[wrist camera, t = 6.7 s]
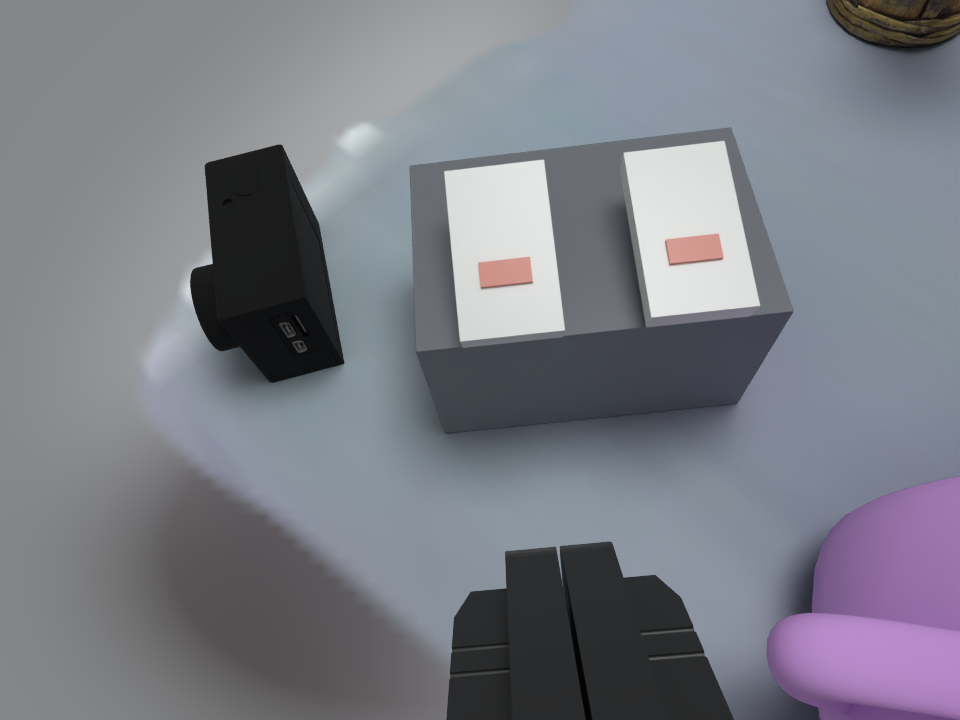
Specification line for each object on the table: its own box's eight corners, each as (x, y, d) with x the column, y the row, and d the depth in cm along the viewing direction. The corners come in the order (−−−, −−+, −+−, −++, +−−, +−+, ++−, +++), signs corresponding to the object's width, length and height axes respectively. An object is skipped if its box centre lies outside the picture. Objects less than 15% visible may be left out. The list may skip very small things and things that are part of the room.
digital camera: (234, 245, 43) (181, 165, 36) (319, 223, 43) (280, 140, 37) (249, 390, 38) (190, 326, 32) (344, 364, 38) (305, 296, 32)
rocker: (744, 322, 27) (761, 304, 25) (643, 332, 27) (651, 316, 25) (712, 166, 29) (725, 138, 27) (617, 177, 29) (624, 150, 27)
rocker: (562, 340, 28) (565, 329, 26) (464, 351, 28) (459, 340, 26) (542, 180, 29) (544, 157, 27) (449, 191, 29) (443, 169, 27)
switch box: (737, 403, 35) (793, 311, 27) (445, 433, 35) (416, 351, 27) (693, 246, 39) (731, 127, 31) (436, 274, 40) (409, 165, 32)
